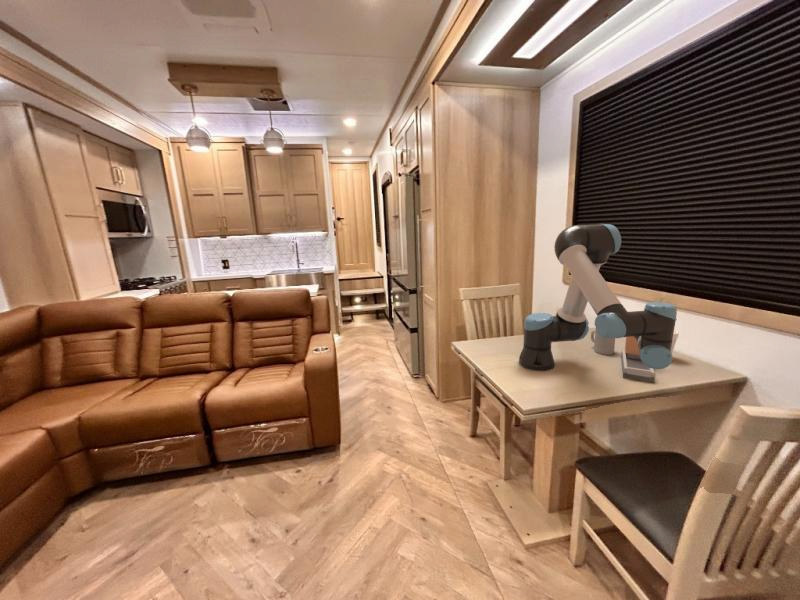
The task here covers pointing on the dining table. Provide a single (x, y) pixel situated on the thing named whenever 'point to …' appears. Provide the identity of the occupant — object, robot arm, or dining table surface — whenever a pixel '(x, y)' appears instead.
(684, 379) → the dining table surface
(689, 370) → the dining table surface
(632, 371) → the shallow rimmed tray
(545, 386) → the dining table surface
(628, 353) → the large orange block
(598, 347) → the mug
